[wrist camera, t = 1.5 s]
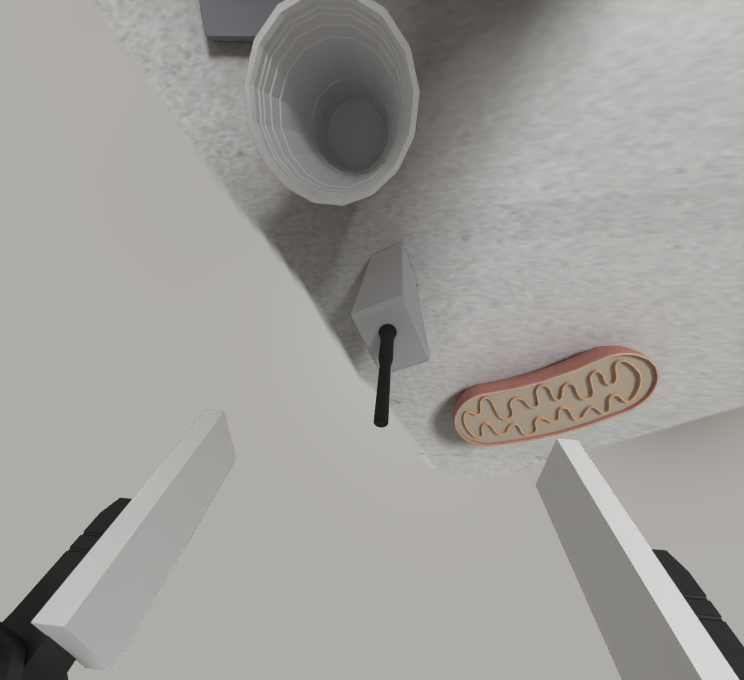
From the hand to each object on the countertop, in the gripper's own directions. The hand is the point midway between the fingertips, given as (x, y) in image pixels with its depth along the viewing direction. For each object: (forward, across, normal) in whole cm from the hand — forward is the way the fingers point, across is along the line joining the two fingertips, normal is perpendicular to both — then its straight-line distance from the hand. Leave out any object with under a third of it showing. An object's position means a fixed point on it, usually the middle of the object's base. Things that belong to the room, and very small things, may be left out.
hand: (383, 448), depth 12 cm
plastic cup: (+26, -5, +13) cm, 29 cm away
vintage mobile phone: (+26, 0, 0) cm, 26 cm away
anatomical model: (+26, +20, -14) cm, 36 cm away
